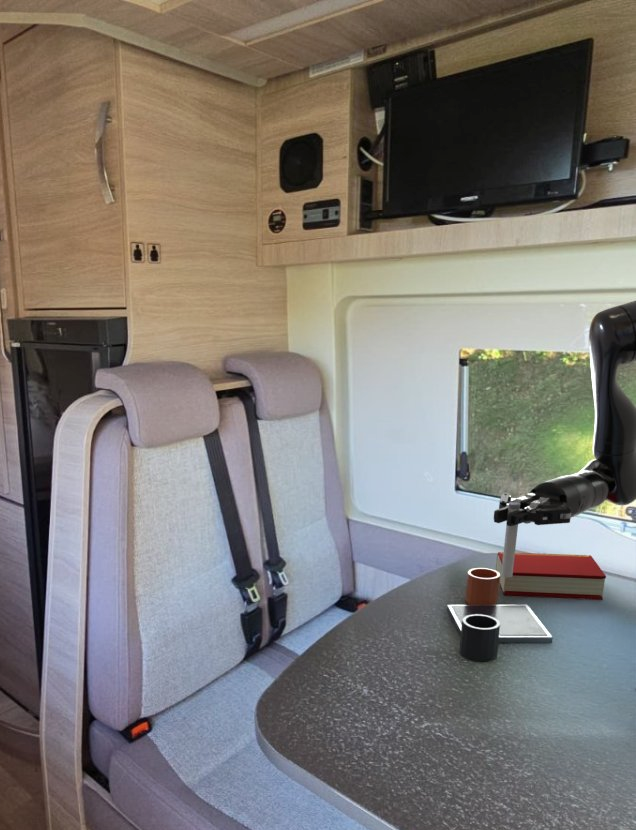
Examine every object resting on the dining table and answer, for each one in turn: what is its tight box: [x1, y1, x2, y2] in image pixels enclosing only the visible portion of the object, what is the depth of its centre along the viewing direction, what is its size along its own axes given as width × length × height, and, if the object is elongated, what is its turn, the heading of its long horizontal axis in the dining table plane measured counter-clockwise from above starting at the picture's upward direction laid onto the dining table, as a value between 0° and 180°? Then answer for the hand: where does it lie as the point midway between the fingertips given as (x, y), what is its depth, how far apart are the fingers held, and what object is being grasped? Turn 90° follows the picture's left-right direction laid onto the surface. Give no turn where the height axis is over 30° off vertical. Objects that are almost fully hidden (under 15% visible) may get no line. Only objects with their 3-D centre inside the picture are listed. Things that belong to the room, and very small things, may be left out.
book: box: [495, 551, 607, 601], centre depth 148 cm, size 18×13×5 cm
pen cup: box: [464, 567, 500, 605], centre depth 142 cm, size 6×6×6 cm
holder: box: [459, 614, 500, 663], centre depth 122 cm, size 6×6×6 cm
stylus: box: [501, 502, 520, 578], centre depth 122 cm, size 2×2×13 cm
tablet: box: [446, 604, 554, 644], centre depth 132 cm, size 15×14×1 cm
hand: (502, 518), depth 119 cm, fingers closed on stylus, 2 cm apart
